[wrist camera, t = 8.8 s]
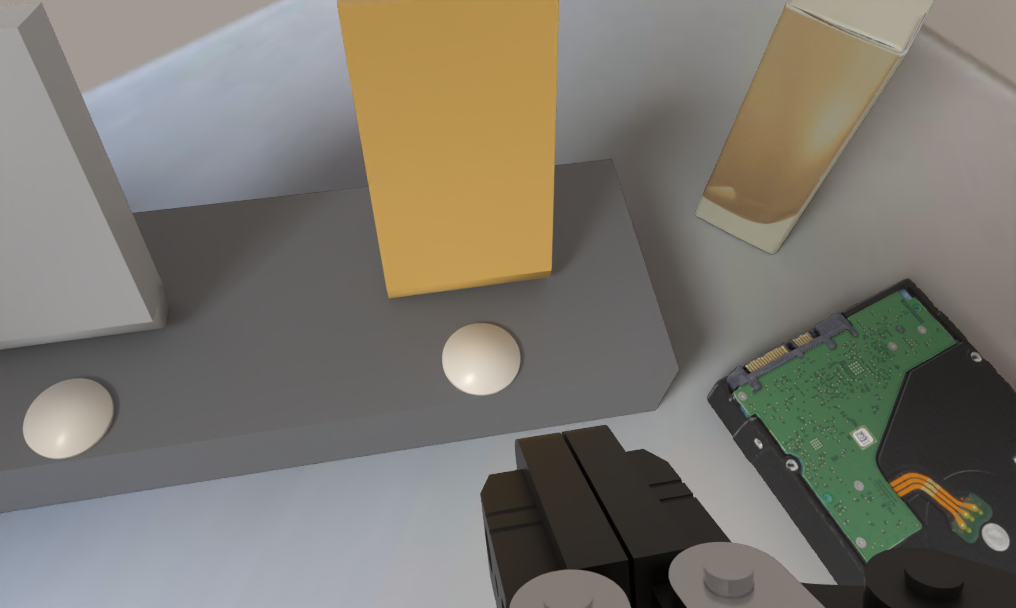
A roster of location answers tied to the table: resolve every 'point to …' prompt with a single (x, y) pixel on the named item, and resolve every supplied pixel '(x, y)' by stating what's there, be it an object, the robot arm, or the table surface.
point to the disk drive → (882, 435)
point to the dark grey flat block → (330, 350)
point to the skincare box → (805, 110)
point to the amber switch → (456, 136)
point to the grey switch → (62, 205)
